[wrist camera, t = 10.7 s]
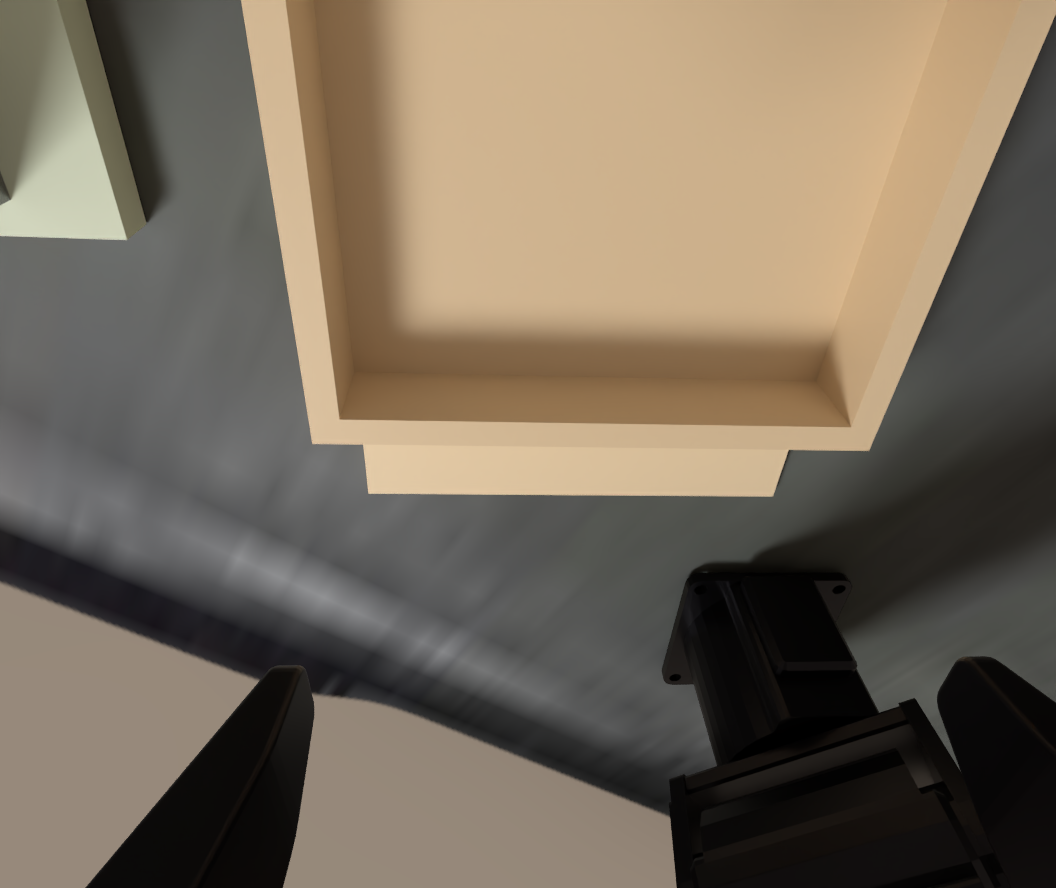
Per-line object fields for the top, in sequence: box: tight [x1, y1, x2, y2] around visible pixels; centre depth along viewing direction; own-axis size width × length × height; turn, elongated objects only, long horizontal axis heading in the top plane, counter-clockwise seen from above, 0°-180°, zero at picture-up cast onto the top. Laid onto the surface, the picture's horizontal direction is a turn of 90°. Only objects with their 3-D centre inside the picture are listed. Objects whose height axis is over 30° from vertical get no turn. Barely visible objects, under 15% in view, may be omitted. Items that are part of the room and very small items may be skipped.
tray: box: [241, 0, 1056, 497], centre depth 14 cm, size 22×16×9 cm
